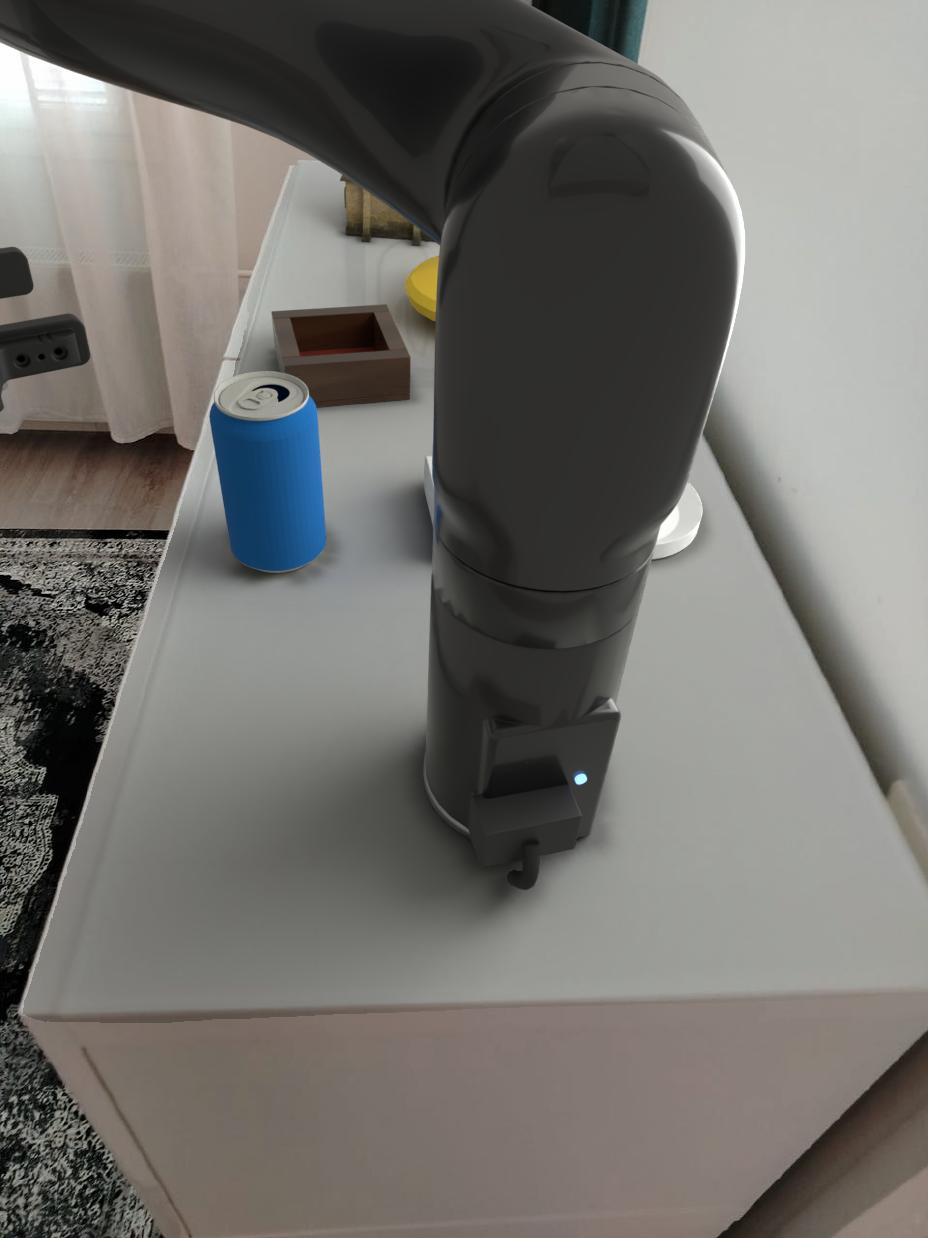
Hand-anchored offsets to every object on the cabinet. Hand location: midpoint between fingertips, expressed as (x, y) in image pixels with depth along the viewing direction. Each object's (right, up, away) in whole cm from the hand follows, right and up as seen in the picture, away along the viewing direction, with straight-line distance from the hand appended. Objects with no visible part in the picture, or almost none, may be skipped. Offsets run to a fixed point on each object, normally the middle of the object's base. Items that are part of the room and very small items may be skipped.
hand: (55, 301), depth 44 cm
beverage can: (+7, -11, +19) cm, 23 cm away
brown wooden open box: (+9, +6, +37) cm, 39 cm away
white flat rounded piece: (+27, -8, +23) cm, 37 cm away
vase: (+22, +15, +48) cm, 55 cm away
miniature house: (+13, +33, +66) cm, 75 cm away
